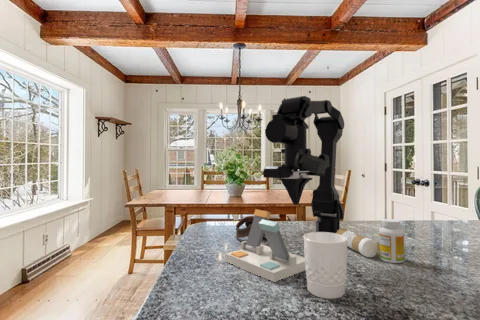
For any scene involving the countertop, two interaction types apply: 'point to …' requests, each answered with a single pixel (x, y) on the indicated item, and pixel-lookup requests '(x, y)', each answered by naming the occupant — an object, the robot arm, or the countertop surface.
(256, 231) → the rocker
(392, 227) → the supplement bottle
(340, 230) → the sprinkles bottle
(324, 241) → the white cup
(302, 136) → the robot arm
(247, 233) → the pottery mug
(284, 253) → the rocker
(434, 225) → the countertop surface
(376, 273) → the countertop surface
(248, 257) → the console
